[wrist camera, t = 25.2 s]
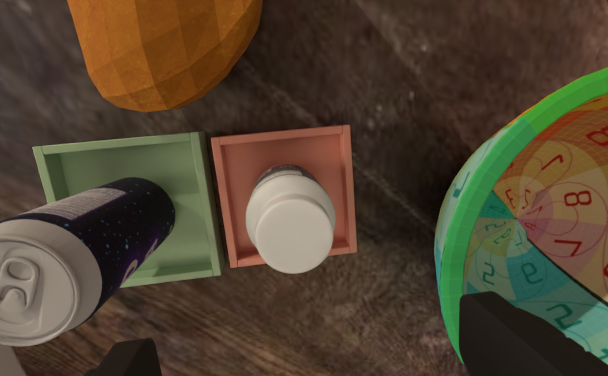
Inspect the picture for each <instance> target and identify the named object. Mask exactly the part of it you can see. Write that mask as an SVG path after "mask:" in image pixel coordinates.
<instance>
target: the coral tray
mask: <svg viewBox="0 0 608 376" xmlns="http://www.w3.org/2000/svg"><path fill="white" fill-rule="evenodd" d="M211 143H212V149H213V156H214V162H215V169H216V175H217V182H218V188H219V195H220V201H221V208H222V215H223V221H224V228H225V234H226V241H227V247H228V254H229V260H230V267H231V268H235V267H243V266H251V265H259V264H267V263H266V262H265V261H264V260H263V259H262V257H261V256H260V254H259V252H258V250H257V248H256V247H255V246H254V245H253V243H252V241H251V240H250V238H249V235H248V232H247V228H246V210H247V206H248V203H249V200H250V198H251V195H252V192H253V189H254V187H255V184H256V182H257V180H258V179H259V177H260V176H261V175H262V174H263V173H264V172H265V171H266V170H267V169H269V168H270V167H272V166H274V165H277V164H282V163H292V164H297V165H300V166H302V167H304V168H306V169H307V170H308V171H309V172H310V173H311V174H312V175H313V176H314V177H315V178H316V179H317V181H318V182H319V184H320V185H321V186H322V187H323V188H324V189H325V190H326V192H327V193H328V195H329V197H330V198H331V200H332V203H333V205H334V209H335V215H336V223H335V229H334V232H333V244H332V247H331V250H330V252H329V254H328V255H327V256H332V255H340V254H348V253H356V252H357V238H356V221H355V203H354V185H353V168H352V150H351V133H350V125H335V126H324V127H314V128H303V129H292V130H282V131H271V132H260V133H249V134H239V135H228V136H217V137H212V138H211Z"/></svg>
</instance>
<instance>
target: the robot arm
mask: <svg viewBox="0 0 608 376" xmlns="http://www.w3.org/2000/svg"><path fill="white" fill-rule="evenodd" d="M459 351H460V355H461V358H462V361H463V363H464V365H465V367H466V369H467V370H468V372H469V373H470V374H471V376H608V364H606V363H605V362H604V361H602V360H601V359H599V358H598V357H597V356H595V355H594V354H592V353H591V352H590V351H585V350H584V347H583V346H581V345H580V344H578V343H577V342H576V341H574V340H573V339H571V338H570V337H568V338H567V337H566V336H565V334H564V333H563V332H561V331H560V330H559V329H557V328H556V327H554V326H553V325H552V324H550V323H549V322H547V321H546V320H545V319H543V318H541V317H538V316H536V315H534V314H532V313H530V312H527V311H525V310H523V309H521V308H516V307H515V306H514V305H512V304H511V303H510V302H508V301H507V300H506V299H504V298H503V297H502V296H500V295H499V294H497V293H496V292H494V291H486V292H479V293H472V294H465V295H462V296H461V298H460V302H459ZM83 376H162V373H161V369H160V364H159V360H158V355H157V350H156V346H155V343H154V341H153V339H151V338H146V339H139V340H132V341H124V342H118V343H116V344H115V345H114V346H113V347H112V348H111V350H110V351H109V352H108V354H107V355H106V356H105V358H104V359H103V361H102V362H101V363H100V365H99V366H98V367H97V369H90V370H89V371H88V372H87V373H86V374H84V375H83Z"/></svg>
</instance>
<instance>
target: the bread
mask: <svg viewBox="0 0 608 376" xmlns="http://www.w3.org/2000/svg"><path fill="white" fill-rule="evenodd" d="M67 1H68V3H69V7H70V10H71V14H72V17H73V21H74V24H75V28H76V31H77V35H78V38H79V41H80V45H81V49H82V52H83V56H84V59H85V63H86V66H87V70H88V73H89V76H90V78H91V79H92V81H93V83H94V84H95V86H96V87H97V89H98V91H99V92H100V94H101V95H102V97H103V98H105V99H106V100H108V101H109V102H111V103H112V104H114V105H115V106H117V107H121V108H125V109H130V110H135V111H141V112H151V111H160V110H169V109H179V108H181V107H183V106H185V105H187V104H189V103H192V102H194V101H196V100H198V99H200V98H202V97H204V96H205V95H206V94H207V93H208V92H209V91H210V90H211V89H213V88H214V87H215V86H216V85H217V84H218V83H219V82H220V81H222V80H223V79H224V78H225V77H226V76H227V75H228V73H229V72H230V70H231V69H232V67H233V66H234V65H235V63H236V62H237V61H238V60H239V58H240V57H241V56H242V55H243V53H244V52H245V51H246V49H247V48H248V46H249V44H250V42H251V41H252V39H253V37H254V35H255V33H256V32H257V29H258V26H259V21H260V16H261V12H262V3H263V0H67Z"/></svg>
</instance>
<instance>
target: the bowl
mask: <svg viewBox="0 0 608 376" xmlns="http://www.w3.org/2000/svg"><path fill="white" fill-rule="evenodd" d="M434 255H435V264H436V275H437V284H438V293H439V297H440V304H441V312H442V316H443V319H444V323H445V326H446V330H447V333H448V336H449V339H450V341H451V343H452V345H453V347H454V349H455V351H456V353H457V355H458V357H459V359H460V361H461V362H462V363H463V361H462V358H461V355H460V351H459V302H460V298H461V296H462V295H465V294H472V293H479V292H486V291H494V292H496V293H497V294H499V295H500V296H502V297H503V298H504V299H506V300H507V301H508V302H510V303H511V304H512V305H514V306H515V307H516V308H521V309H523V310H525V311H527V312H530V313H532V314H534V315H536V316H538V317H541V318H543V319H545V320H546V321H547V322H549V323H550V324H552V325H553V326H554V327H556V328H557V329H559V330H560V331H561V332H563V333H564V334H565V336H566V337H567V338H568V337H570V338H571V339H573V340H574V341H576V342H577V343H578V344H580V345H581V346H583V347H584V350H585V351H590V352H591V353H592V354H594V355H595V356H597V357H598V358H599V359H601V360H602V361H604V362H605V363H606V364H608V67H607V68H604V69H602V70H599V71H596V72H594V73H591V74H589V75H586V76H583V77H581V78H578V79H577V80H575V81H573V82H571V83H570V84H568V85H566V86H564V87H562V88H561V89H559V90H557V91H555V92H554V93H552V94H550V95H548V96H547V97H545V98H544V99H543V100H541V101H540V102H539V103H537V104H536V105H535V106H533V107H531V108H529V109H528V110H526V111H525V112H523V113H522V114H521V115H519V116H518V117H517V118H516V119H514V120H513V121H512V122H510V123H509V124H508V125H506V126H505V127H503V128H502V129H501V130H499V131H498V132H497V133H495V134H494V135H493V136H492V137H490V138H489V139H488V140H486V141H485V142H484V143H483V144H482V145H481V146H480V147H479V148H478V149H477V150H476V151H475V152H474V154H473V155H472V156H471V157H470V158H469V159H468V160H467V162H466V163H465V164H464V166H463V167H462V168H461V170H460V171H459V172H458V174H457V175H456V176H455V178H454V180H453V182H452V184H451V185H450V187H449V189H448V191H447V193H446V195H445V198H444V201H443V203H442V206H441V209H440V213H439V217H438V222H437V227H436V232H435V247H434ZM463 364H464V363H463ZM464 366H465V365H464Z"/></svg>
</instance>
